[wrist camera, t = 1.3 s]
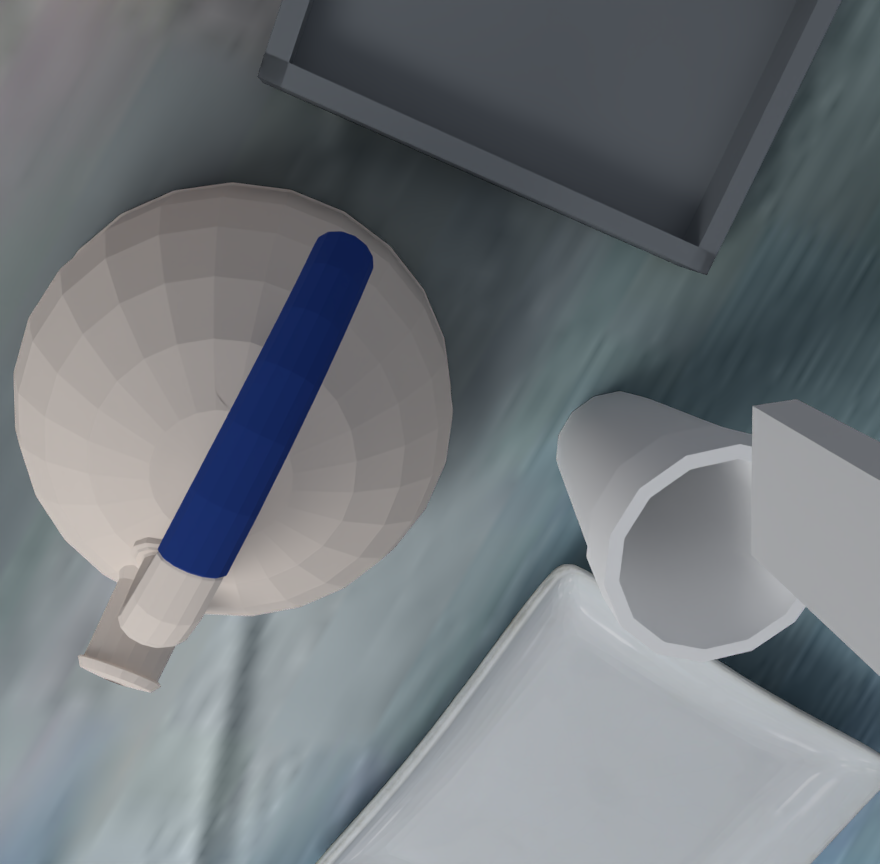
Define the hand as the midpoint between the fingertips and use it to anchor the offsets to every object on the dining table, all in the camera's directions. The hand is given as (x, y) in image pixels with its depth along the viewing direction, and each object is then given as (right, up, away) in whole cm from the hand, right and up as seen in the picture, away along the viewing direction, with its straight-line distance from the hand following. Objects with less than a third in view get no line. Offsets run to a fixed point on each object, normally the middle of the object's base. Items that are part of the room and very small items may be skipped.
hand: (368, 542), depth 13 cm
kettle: (-8, +4, +28) cm, 30 cm away
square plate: (+10, -21, +39) cm, 46 cm away
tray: (+6, +20, +24) cm, 32 cm away
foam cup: (+11, +1, +31) cm, 33 cm away
